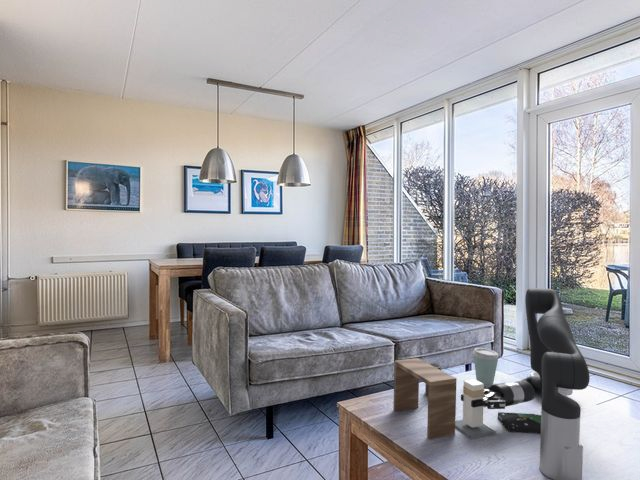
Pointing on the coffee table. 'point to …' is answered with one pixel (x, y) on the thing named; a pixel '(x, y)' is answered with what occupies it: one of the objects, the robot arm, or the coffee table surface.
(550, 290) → the robot arm
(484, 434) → the mat
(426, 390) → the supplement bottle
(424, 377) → the shelf bay
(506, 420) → the disk drive
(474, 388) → the carton
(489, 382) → the disposable coffee cup
